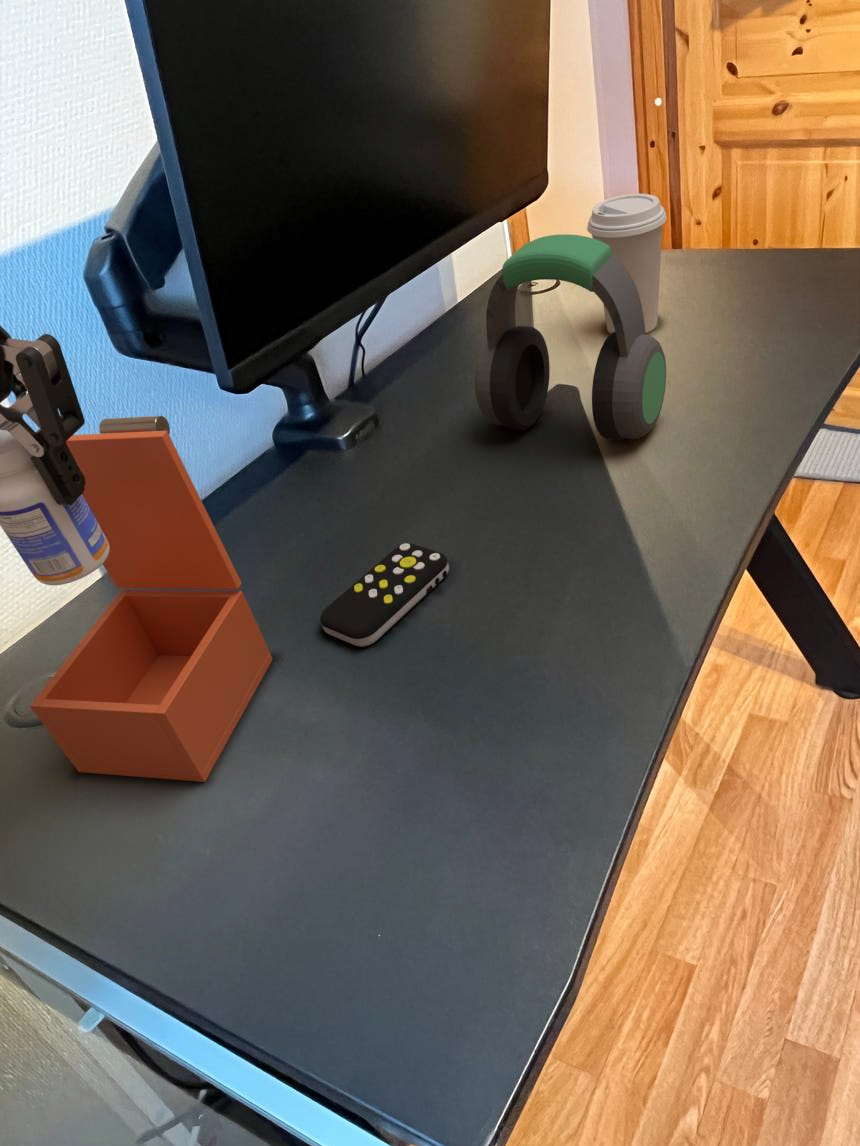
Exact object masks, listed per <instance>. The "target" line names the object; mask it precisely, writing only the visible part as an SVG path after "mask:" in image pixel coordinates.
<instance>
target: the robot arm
mask: <svg viewBox="0 0 860 1146" xmlns="http://www.w3.org/2000/svg"><path fill="white" fill-rule="evenodd" d="M11 393H13V395H14V396H15V401H14V403H13V404H11V405H10V406H8V407H7V406H4V405H2V404H1V403H2V402H4V401H5V400H6V399H8V398H9V396H10V395H11ZM24 415H26V416H27V417H28V418H29V419H30V420H31V421H32V422H33V423H34V424H35V425H36V426H37V427H38V429H37V430H34V428H32V427H31V426H30V424H29V423H28V422H26V421H25V419H24ZM85 422H86V421H85V416H84V414H83V410H82V407H81V404H80V401H79V399H78V395H77V392H76V390H75V387H74V384H73V379H72V377H71V374H70V371H69V368H68V365H67V362H66V359H65V356H64V353H63V350H62V347H61V345H60V342H59V340H58V339H57V338H56V337H55V336H54V335H51V334H49V333H43V334H41V335H40V336H39V337H38V338H36V339H35V340H28V339H27V340H26V339H19V338H12V336H11V335H10V334H9V332H8V331H7V330H6V329H5V328H4V327H3V326H2V325H0V430H6V431H8V432H9V433H10V434H11V435H12V436H13V437H14V438H15V439H16V440H17V441H18V442H19V443H20V444H21V445H22V446H23V447H24V448H25V449H26V450H27V451H28V452H29V453H30V454H32V455H33V456H32V457H31V460H32V461H33V463H34V465H35V467H36V468H37V470H38V472H39V474H40V475H41V477H42V479H43V480H44V482H45V484H46V486H47V487H48V489H49V491H50V492H51V494H52V496H53V498H54V499H55V501H56V503H57V504H59V505H72V504H73V503H74V502H75V501H76V500H77V499H78V498H79V497H80V496H81V495H82V493H83V492H84V489H85V485H86V483H85V477H84V475H83V473H82V472H81V471H80V468H79V466H78V465H77V462H76V461H75V459H74V457H73V455H72V453H71V451H70V450H69V448H68V446H67V444H66V441H67V440H68V439H69V438H70V437H71V436H72V435H75V434H76V433H77V432H78V431H79V430H80V429H81V428H82V427H83V426H84V425H85Z"/></svg>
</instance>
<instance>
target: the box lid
mask: <svg viewBox="0 0 860 1146" xmlns="http://www.w3.org/2000/svg"><path fill="white" fill-rule="evenodd" d="M98 430H99V433H85V434H73V435H72V436H71V437H70V438H69V439H68V440H67V441H66V444H67V446H68V448H69V450H70V451H71V453H72V455H73V457H74V459H75V461H76V462H77V465H78V466H79V468H80V471H81V472H82V473H83V475H84V477H85V483H86V485H85V489H84V492H83V493H82V496H83V497H84V499H85V501H86V503H87V504H88V506H89V508H90V510H91V512H92V513H93V515H94V517H95V519H96V520H97V522H98V524H99V526H100V528H101V529H102V531H103V533H104V535H105V537H106V539H107V541H108V543H109V546H110V551H109V555H108V557H107V559H106V560H105V562H104V563H103V564H102V566H103V567H104V569H105V571H106V573H107V574H108V576H109V577H110V579H111V580H112V582H113V583H114V585H115V586H116V588H117V589H169V590H239V588H241V585H242V580H241V578H240V577H239V575H238V572H237V571H236V568H235V567H234V564H233V562H232V559H231V557H230V556H229V554H228V552H227V550H226V548H225V546H224V544H223V542H222V540H221V538H220V536H219V534H218V532H217V530H216V527H215V525H214V524H213V522H212V519H211V517H210V515H209V513H208V512H207V509H206V507H205V505H204V503H203V501H202V500H201V499H202V498H201V497H200V495H199V492H198V491H197V489H196V486H195V485H194V483H193V480H192V479H191V477H190V474H189V473H188V470H187V469H186V466H185V465H184V462H183V460H182V458H181V456H180V454H179V452H178V451H177V448H176V446H175V443H174V442H173V439H172V438H171V436H170V434H171V433H170V432H171V427H170V424H169V420H168V419H167V418H166V417H165V416H163V415H148V416H147V415H146V416H127V417H108V418H103V419H102V420H101V421H100V423H99V427H98Z"/></svg>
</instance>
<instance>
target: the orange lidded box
mask: <svg viewBox="0 0 860 1146" xmlns="http://www.w3.org/2000/svg"><path fill="white" fill-rule="evenodd" d="M273 660H274V659H273V657H272V654H271V652H270V649H269V647H268V645H267V643H266V641H265V639H264V637H263V635H262V632H261V630H260V628H259V624H258V623H257V621H256V619H255V616H254V615H253V612H252V610H251V608H250V605H249V603H248V600H247V599H246V596H245V594H244V593H243V591H242V590H205V589H121V590H120V591H119V592H118V594H117V595H116V596H115V597H114V599H112V601H111V602H110V604H109V605H108V606H107V607H106V609H105V610H104V611H103V612H102V613H101V615H100V616H99V618H98V619H97V620H96V621H95V622H94V624H93V625H92V626H91V627H90V629H89V630H88V631H87V632H86V634H85V635H84V637H83V638H82V639H81V641H80V642H79V643H78V644H77V646H75V648H74V649H73V651H72V652H71V653H70V654H69V656H68V657H66V660H64V662H63V663H62V664H61V666H60V667H59V668H58V669H57V670H56V672H55V673H54V674H53V676H52V677H51V678H50V679H49V681H48V682H47V684H46V685H45V686H44V687H43V688H42V690H41V691H40V692H39V693H38V695H37V696H36V697H35V698H34V700H33V701H32V702H31V704H30V705H29V707H30V709H31V710H32V711H33V712H34V714H35V715H36V716H37V718H38V720H40V722H41V723H42V725H43V726H44V728H45V729H46V730H47V732H49V734H50V735H51V737H52V738H53V739H54V741H55V742H56V743H57V745H58V747H60V749H61V750H62V752H63V753H64V754H65V756H66V757H67V758H68V759H69V761H70V762H71V764H72V766H74V767H75V769H76V770H77V772H79V773H87V774H97V775H99V774H100V775H110V776H114V775H115V776H123V777H125V776H126V777H136V778H149V779H150V778H151V779H160V780H161V779H162V780H172V781H173V780H174V781H187V782H197V783H199V782H200V783H206V782H207V779H208V777H209V775H210V774H211V771H212V770H213V768H214V767H215V765H216V764H217V762H218V760H219V758H220V756H221V754H222V752H223V750H224V748H225V746H226V745H227V743H228V741H229V740H230V738H231V736H232V734H233V732H234V730H235V729H236V727H237V725H238V723H239V721H240V720H241V719H242V716H243V714H244V713H245V710H246V709H247V707H248V705H249V703H250V702H251V700H252V698H253V696H254V694H255V692H256V690H257V688H259V685H260V683H261V681H262V679H263V678H264V676H265V674H266V672H267V670H268V669H269V667H270V666H271V663H272V661H273Z"/></svg>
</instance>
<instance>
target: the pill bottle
mask: <svg viewBox="0 0 860 1146" xmlns="http://www.w3.org/2000/svg"><path fill="white" fill-rule="evenodd" d="M32 456H33V455H32V454H30V453H29V452H28V451H27V450H26V449H25V448H24V447H23V446H22V445H21V444H20V443H19V442H18V441H17V440H16V439H15V438H14V437H13V436H12V435H11V434H10V433H9V432H8V431H6V430H0V527H1V529H2V530H3V532H4V533H5V535H6V537H7V538H8V540H9V541H10V542H11V544H12V546H13V547H14V549H15V551H17V553H18V554H19V556H20V558H21V560H22V561H23V562H24V564H25V565H26V568H28V569H29V572H30V573H31V574H32V576H33V577H34V578H35V579H36V580H37V581H38V582H39V583H41V584H44V585H47V586H62V585H67V584H71V583H74V582H76V581H79V580H82V579H83V578H85V577H87V576H89V575H91V574H93V573H94V572H95V571H96V570H98V569H99V568H101V566H103V563H104V562H105V560H106V559H107V557H108V555H109V551H110V546H109V543H108V541H107V539H106V537H105V535H104V533H103V531H102V529H101V528H100V526H99V524H98V522H97V520H96V519H95V517H94V515H93V513H92V512H91V510H90V508H89V506H88V504H87V503H86V501H85V499H84V497H83V496H82V495H81V496H80V497H79V498H78V499H77V500H76V501H75V502H74V503H73V504H72V505H59V504H57V503H56V501H55V499H54V498H53V496H52V494H51V492H50V491H49V489H48V487H47V486H46V484H45V482H44V480H43V479H42V477H41V475H40V474H39V472H38V470H37V468H36V467H35V465H34V463H33V461H32V460H31V457H32Z"/></svg>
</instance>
